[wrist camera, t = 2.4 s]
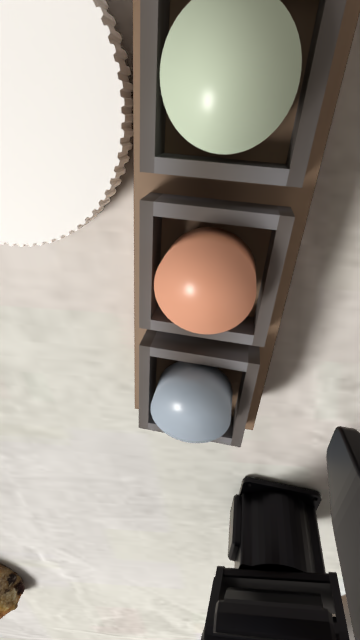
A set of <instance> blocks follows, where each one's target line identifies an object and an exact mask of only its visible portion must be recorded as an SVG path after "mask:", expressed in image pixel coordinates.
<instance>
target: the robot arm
mask: <svg viewBox="0 0 360 640" xmlns="http://www.w3.org/2000/svg"><path fill="white" fill-rule="evenodd" d="M326 458H327V470H328V482H329V494H330V506H331V516H332V524H333V530H334V536H335V541H336V546H337V551H338V556H339V561H340V566H341V571H342V577H343V582H344V587H345V592H346V597H347V601H348V607H349V612H350V617H351V622H352V627H353V632H354V637H355V640H360V433H359V432H358V431H357V430H356V429H353V428H347V427H341V426H340V427H337V428H336V429H335V431H334V434H333V436H332V439H331V441H330V444H329V446H328V449H327V457H326ZM320 501H321V495H320V493H319V492H317V491H313V490H308V489H303V488H298V487H293V486H288V485H283V484H278V483H274V482H269V481H264V480H259V479H254V478H244V479H243V480H242V484H241V488H240V492H239V495H237V494H236V495H235V496H234V499H233V503H232V507H231V511H230V526H229V545H228V557H229V559H230V560H232V561H235V568H225V567H224V566H217V571H216V576H215V577H214V580H213V585H212V591H211V596H210V601H209V607H208V612H207V617H206V623H205V627H204V630H203V633H202V636H201V640H349V635H348V630H347V624H346V619H345V614H344V609H343V604H342V599H341V594H340V588H339V583H338V578H337V573H336V572H329V574H328V573H326V572H325V566H324V560H323V554H322V548H321V542H320V535H319V529H318V523H317V517H316V510H317V508H318V506H319V503H320ZM332 614H336V617H332Z"/></svg>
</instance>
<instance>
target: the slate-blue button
mask: <svg viewBox="0 0 360 640" xmlns="http://www.w3.org/2000/svg"><path fill="white" fill-rule="evenodd" d="M232 395H233V391H232V385H231V383H230V381H229V379H228V378H227V376H226V375H225V374H224V373H223V372H222V371H221V370H219V369H218V368H216V367H213V366H207V365H201V364H195V363H189V362H183V361H180V362H177V363H174V364H172V365H170V366H169V367H167V368H166V369H165V370H164V372H163V373H162V375H161V377H160V379H159V382H158V385H157V388H156V391H155V393H154V396H153V399H152V402H151V415H152V418H153V420H154V422H155V423H156V425H157V426H158V427H159V428H160V429H161V430H162V431H163V432H165V433H166V434H168V435H169V436H171V437H173V438H175V439H178V440H181V441H184V442H189V443H205V442H210V441H213V440H215V439H217V438H219V437H221V436H222V435H223V434H224V433H225V432H226V431H227V430H228V428H229V426H230V422H231V409H232Z"/></svg>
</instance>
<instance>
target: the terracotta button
mask: <svg viewBox="0 0 360 640" xmlns="http://www.w3.org/2000/svg"><path fill="white" fill-rule="evenodd" d="M154 292H155V297H156V300H157V303H158V305H159V307H160V308H161V310H162V312H163V313H164V314H165V315H166V317H167V318H168V319H170V320H171V321H172V322H173V323H174V324H176V325H177V326H179V327H181V328H183V329H185V330H187V331H190V332H193V333H198V334H218V333H222V332H225V331H228V330H230V329H232V328H234V327H236V326H237V325H239V324H240V323H241V322H242V321H243V320H244V319H245V318H246V317H247V316H248V315H249V313H250V311H251V310H252V308H253V305H254V302H255V299H256V266H255V261H254V258H253V255H252V253H251V251H250V249H249V248H248V246H247V245H246V244H245V243H244V242H243V241H242V240H241V239H240V238H239V237H238V236H236V235H235V234H233V233H231V232H229V231H227V230H224V229H221V228H215V227H201V228H197V229H193V230H191V231H188V232H186V233H184V234H183V235H182V236H180V237H179V238H178V239H177V240H176V241H175V242H174V243H173V244H172V245H171V247H170V248H169V250H168V252H167V253H166V255H165V256H164V258H163V259H162V261H161V263H160V264H159V266H158V268H157V271H156V274H155V278H154Z"/></svg>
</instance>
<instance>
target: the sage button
mask: <svg viewBox="0 0 360 640" xmlns="http://www.w3.org/2000/svg"><path fill="white" fill-rule="evenodd" d="M301 67H302V53H301V44H300V39H299V34H298V31H297V28H296V25H295V23H294V21H293V19H292V17H291V15H290V13H289V11H288V10H287V8H286V7H285V5H284V4H283V3H282V2H281V1H280V0H191V1H190V2H189V3H188V4H187V5H186V6H185V8H184V9H183V10H182V11H181V13H180V14H179V15H178V17H177V18H176V20H175V21H174V23H173V25H172V27H171V29H170V31H169V33H168V36H167V38H166V41H165V44H164V48H163V52H162V57H161V63H160V87H161V94H162V99H163V103H164V106H165V109H166V111H167V114H168V116H169V118H170V120H171V122H172V123H173V125H174V126H175V128H176V129H177V131H178V132H179V133H180V134H181V135H182V136H183V137H184V138H185V139H186V140H187V141H188V142H189V143H191V144H192V145H194V146H195V147H197V148H199V149H201V150H204V151H207V152H210V153H215V154H235V153H239V152H243V151H246V150H248V149H250V148H253V147H254V146H256V145H258V144H260V143H261V142H262V141H264V140H265V139H266V138H268V137H269V136H270V135H271V134H272V133H273V132H274V131H275V130H276V129H277V128H278V126H279V125H280V124H281V123H282V121H283V120H284V118H285V117H286V115H287V114H288V112H289V110H290V108H291V106H292V104H293V101H294V99H295V96H296V93H297V90H298V86H299V82H300V76H301Z"/></svg>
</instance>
